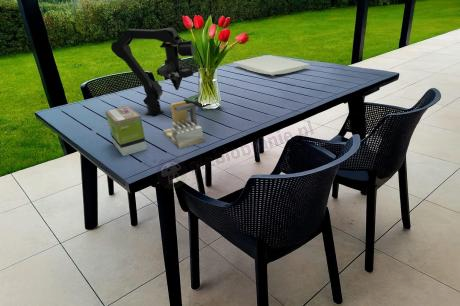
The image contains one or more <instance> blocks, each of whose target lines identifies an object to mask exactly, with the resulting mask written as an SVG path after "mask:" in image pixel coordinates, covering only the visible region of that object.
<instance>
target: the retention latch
mask: <svg viewBox="0 0 460 306" xmlns="http://www.w3.org/2000/svg"><path fill="white" fill-rule="evenodd" d="M185 104H186V102H185V101H183V100H182V101H178V102H174V103H170V110H171V116H172V122H174V123H175V124H177V121H179V122H180V123H181V124H182V122H181V120H184V121H185V122H186V119H188V120H189V118H188V117H189V116H188V110H183V111H179V112H177V111H176V110H175V107H176V106H181V105H185Z"/></svg>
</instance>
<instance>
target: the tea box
mask: <svg viewBox="0 0 460 306" xmlns="http://www.w3.org/2000/svg"><path fill="white" fill-rule="evenodd" d="M105 116H106V119H107V124H108V128H109V133H110V136H111V141H112V143H113V145H114V146H115V148H116V149H117V151H119V152H120V154H121V155H122V156H123V157H125V156H129V155H132V154H135V153H139V152H142V151H143V152H144V151H145V150H147V149H148V148H147V143H146V142H147V141H146V137H145V132H144V127H143V122H142V118H141V115H140V114H139V113H138V112H136V111H135V110H134V109H133V108H132V107H131V106H130V105H126V106H122V107H118V108H115V109H110V110H105Z"/></svg>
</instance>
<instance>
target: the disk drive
mask: <svg viewBox="0 0 460 306" xmlns="http://www.w3.org/2000/svg"><path fill="white" fill-rule="evenodd" d="M198 95H199V94H194V95H191V96H189V97H187V98H184V99H183V100H182V101H185V102H186V104H190V103H193V104H194V105H195V107H198V108H202V109H203V108H205V107H208V106H211V105H212V104H206V105H203V106H202V104H201V103H199V102H198Z"/></svg>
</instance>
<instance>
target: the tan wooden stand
mask: <svg viewBox="0 0 460 306" xmlns="http://www.w3.org/2000/svg"><path fill="white" fill-rule="evenodd" d="M175 110H176V111H177V112H179V111H183V110H187V111H188V110H189V116H190V119H189V118H188V119H186V122H185V121H184V120H181V122H182V124H181V123H180V122H179V121H177V124H175V123H174V122H173V121H172V122H171V125H172V126H171V127H170V128H168V129H164V130H163V131H162V133H163V135H164V136H166V137H167V138H168V139H169V140H170V141H171V142H172V143H173V144H174V145H176V146H177V147H178V148H179V149H183V148H186V147H190V146H193V145H197V144H200V143H204V142H206V140H205V139H206V138H205V137H204V135H203V128H202V126H201V125H199V124H198V122H197V121H198V120H197V112H196V106H195V105H194V104H193V103H190V104H185V105H181V106H176V107H175Z"/></svg>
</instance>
